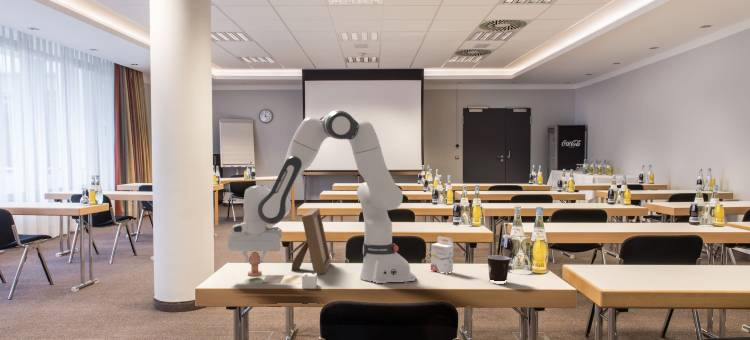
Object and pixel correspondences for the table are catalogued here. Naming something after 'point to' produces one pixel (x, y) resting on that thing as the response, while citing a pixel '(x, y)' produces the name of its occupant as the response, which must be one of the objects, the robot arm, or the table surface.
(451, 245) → the ink cartridge box
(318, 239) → the photo frame
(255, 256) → the pawn
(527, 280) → the table surface
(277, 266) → the table surface
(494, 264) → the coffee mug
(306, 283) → the die
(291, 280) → the track board
